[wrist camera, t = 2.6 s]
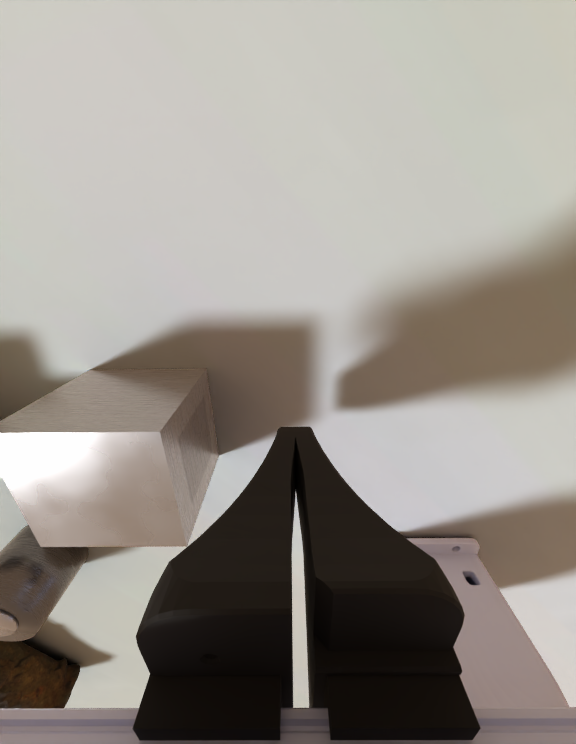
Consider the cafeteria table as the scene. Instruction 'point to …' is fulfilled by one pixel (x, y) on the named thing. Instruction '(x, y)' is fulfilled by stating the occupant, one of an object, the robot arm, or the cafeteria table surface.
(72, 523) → the grey block
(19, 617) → the socket
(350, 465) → the cafeteria table surface
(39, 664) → the rough brown wooden log
